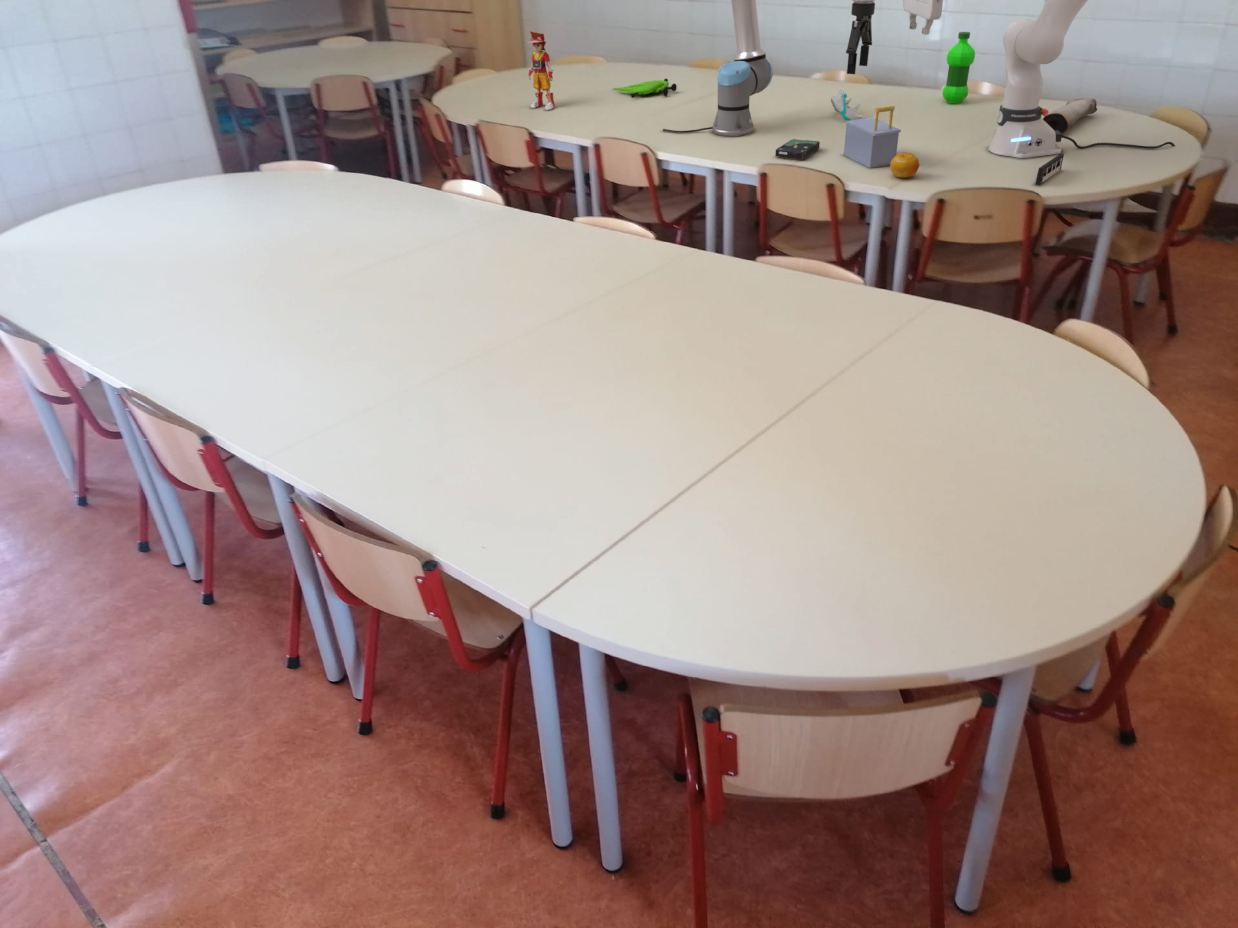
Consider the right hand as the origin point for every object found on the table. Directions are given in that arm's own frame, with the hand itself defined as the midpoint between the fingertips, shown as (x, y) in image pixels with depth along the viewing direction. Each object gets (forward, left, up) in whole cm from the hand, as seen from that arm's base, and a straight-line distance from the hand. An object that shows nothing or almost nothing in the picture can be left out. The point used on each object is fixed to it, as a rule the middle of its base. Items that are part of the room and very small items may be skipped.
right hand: (918, 31), depth 276 cm
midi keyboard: (-37, +28, -39) cm, 60 cm away
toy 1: (+124, -103, -39) cm, 166 cm away
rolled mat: (-68, -30, -39) cm, 83 cm away
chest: (+11, -2, -39) cm, 40 cm away
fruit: (+5, +18, -39) cm, 43 cm away
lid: (+10, -2, -28) cm, 30 cm away
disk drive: (+32, -13, -39) cm, 52 cm away
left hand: (+9, -33, -17) cm, 38 cm away
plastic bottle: (-41, -70, -39) cm, 90 cm away
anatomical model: (+6, -58, -39) cm, 70 cm away
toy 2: (+81, -120, -39) cm, 150 cm away
